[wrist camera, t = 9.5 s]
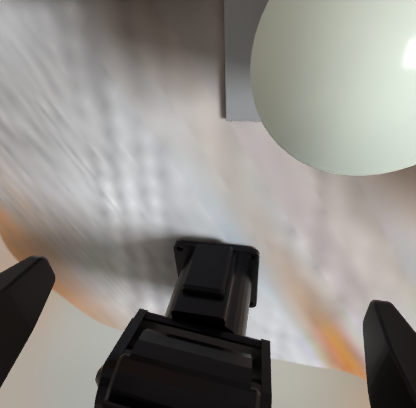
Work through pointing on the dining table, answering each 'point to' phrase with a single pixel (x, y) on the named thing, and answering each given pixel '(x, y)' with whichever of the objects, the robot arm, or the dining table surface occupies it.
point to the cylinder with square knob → (338, 82)
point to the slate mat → (240, 56)
